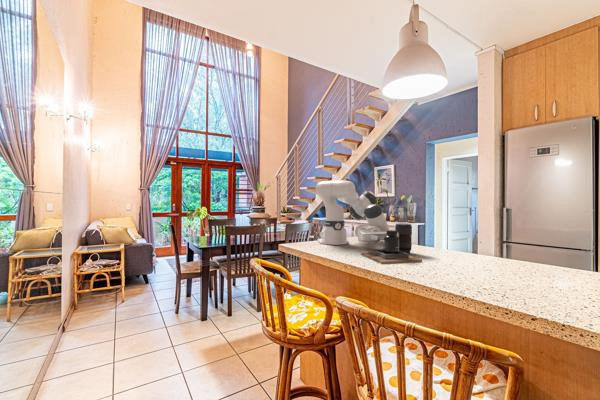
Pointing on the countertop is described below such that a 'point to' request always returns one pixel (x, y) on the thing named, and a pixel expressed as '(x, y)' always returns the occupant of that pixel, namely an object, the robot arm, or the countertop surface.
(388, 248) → the supplement bottle
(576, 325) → the countertop surface
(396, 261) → the collar dock
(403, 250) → the camera lens
